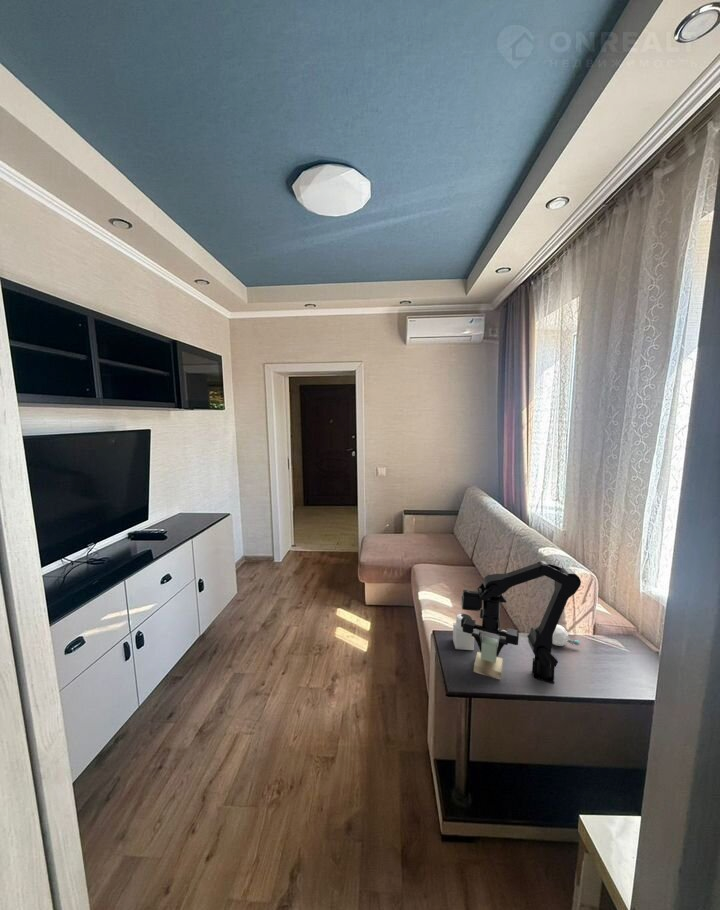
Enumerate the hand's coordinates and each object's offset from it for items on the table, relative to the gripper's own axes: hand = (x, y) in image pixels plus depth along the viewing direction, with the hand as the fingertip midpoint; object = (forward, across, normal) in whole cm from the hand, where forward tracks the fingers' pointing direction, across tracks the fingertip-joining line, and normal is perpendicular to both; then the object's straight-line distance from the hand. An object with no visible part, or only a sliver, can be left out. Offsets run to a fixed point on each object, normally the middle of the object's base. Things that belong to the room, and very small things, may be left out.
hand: (489, 654), depth 132 cm
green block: (+1, 0, 0) cm, 1 cm away
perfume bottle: (+6, -25, -30) cm, 39 cm away
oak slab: (+6, 0, 0) cm, 6 cm away
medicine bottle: (+6, +11, -11) cm, 17 cm away
